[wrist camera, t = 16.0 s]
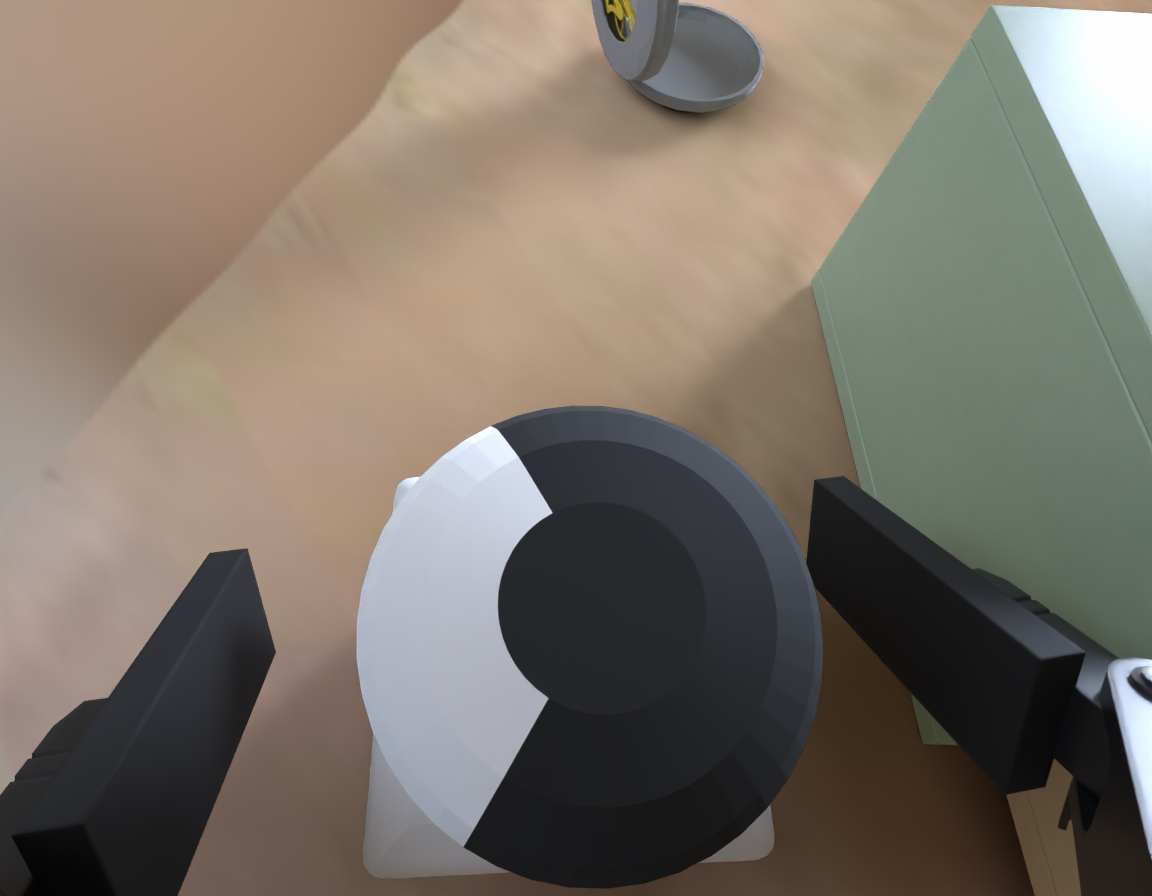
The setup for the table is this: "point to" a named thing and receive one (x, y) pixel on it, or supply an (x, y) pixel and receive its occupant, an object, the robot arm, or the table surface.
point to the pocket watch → (679, 52)
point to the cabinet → (1014, 319)
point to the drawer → (1047, 836)
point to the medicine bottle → (582, 656)
